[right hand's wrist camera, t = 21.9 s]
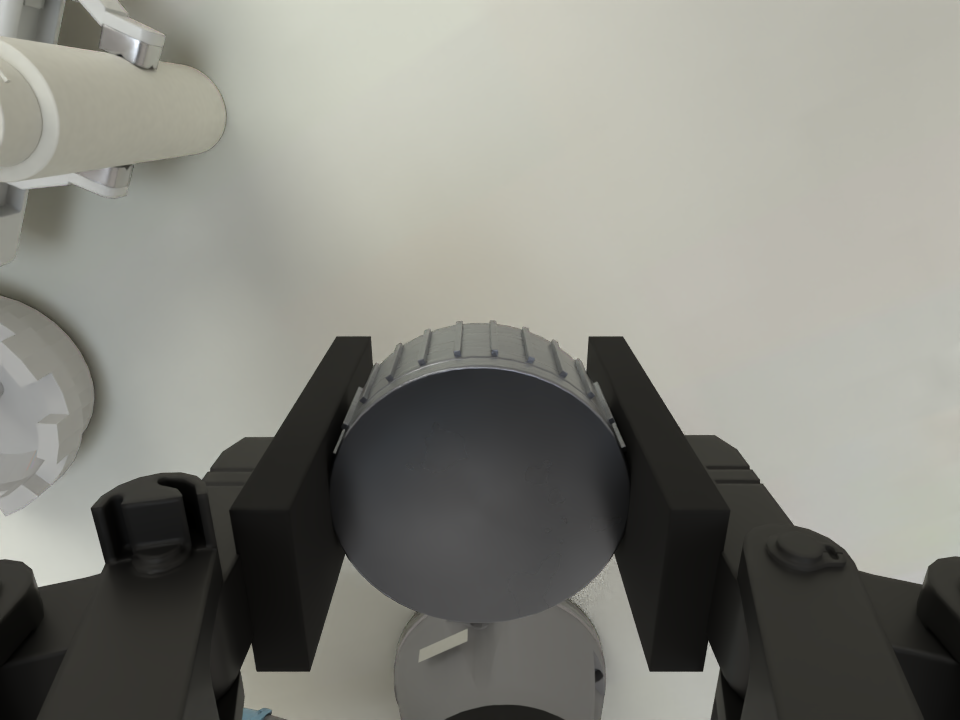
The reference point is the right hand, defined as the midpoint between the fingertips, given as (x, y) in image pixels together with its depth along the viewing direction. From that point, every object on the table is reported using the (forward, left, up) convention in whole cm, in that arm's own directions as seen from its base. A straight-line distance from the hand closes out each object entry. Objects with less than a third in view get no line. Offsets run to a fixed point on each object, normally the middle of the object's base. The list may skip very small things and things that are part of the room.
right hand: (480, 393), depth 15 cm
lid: (0, 0, +4) cm, 4 cm away
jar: (-3, +16, -23) cm, 28 cm away
